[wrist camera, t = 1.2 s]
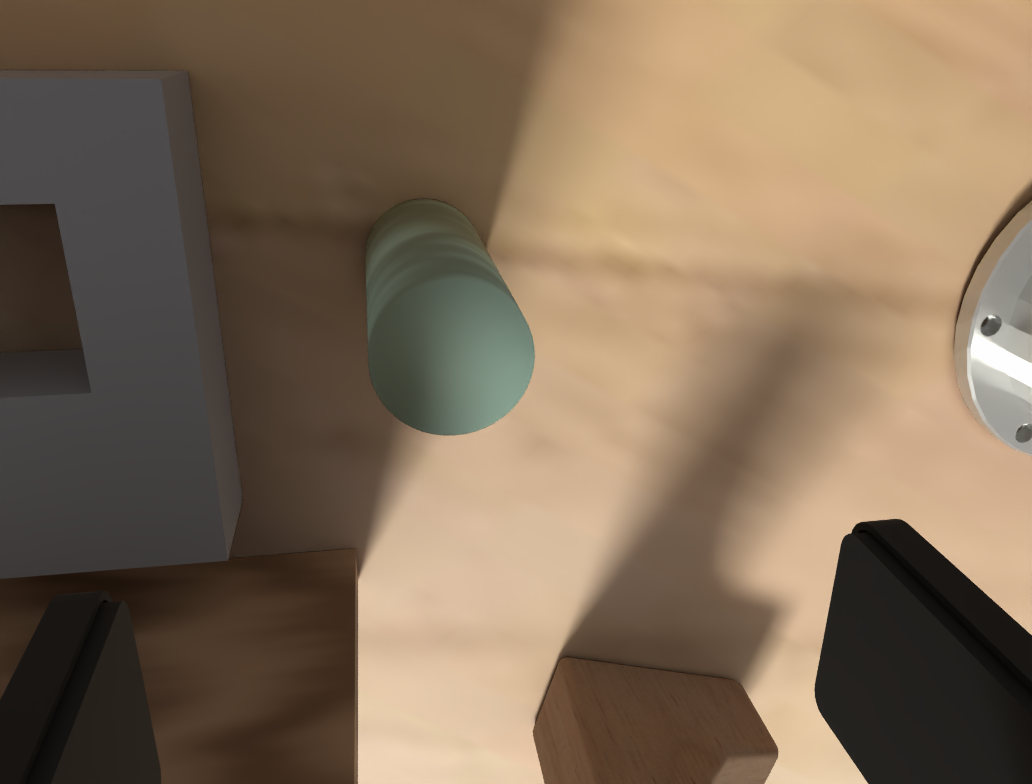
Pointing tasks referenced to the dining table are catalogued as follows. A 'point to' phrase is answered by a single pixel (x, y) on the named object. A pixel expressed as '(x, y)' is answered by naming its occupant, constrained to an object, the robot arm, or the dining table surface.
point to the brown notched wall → (230, 661)
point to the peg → (441, 322)
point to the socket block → (116, 335)
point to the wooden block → (649, 728)
